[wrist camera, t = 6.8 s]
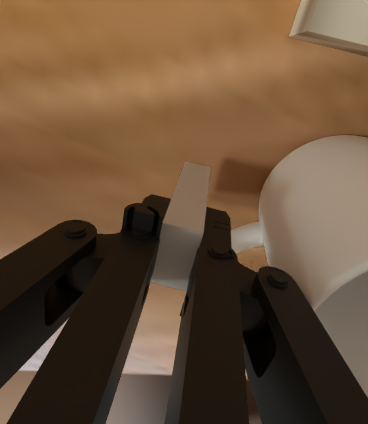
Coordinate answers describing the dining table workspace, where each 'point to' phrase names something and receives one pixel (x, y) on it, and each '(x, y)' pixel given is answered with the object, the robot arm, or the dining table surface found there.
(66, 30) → the dining table surface
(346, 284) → the mug
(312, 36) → the dock
